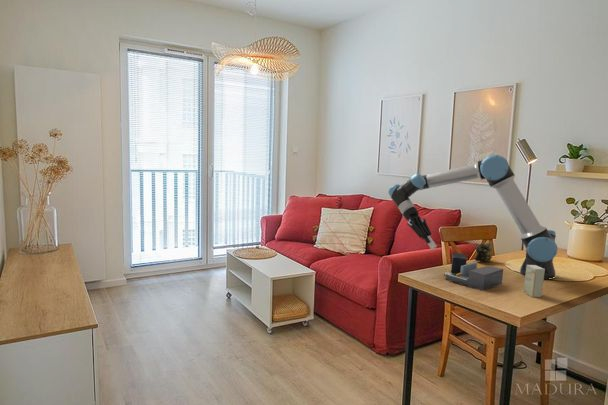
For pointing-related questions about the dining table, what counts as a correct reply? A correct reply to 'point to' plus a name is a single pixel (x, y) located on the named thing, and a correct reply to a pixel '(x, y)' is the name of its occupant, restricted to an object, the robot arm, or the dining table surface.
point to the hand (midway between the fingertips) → (434, 247)
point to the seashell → (484, 252)
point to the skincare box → (533, 280)
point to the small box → (457, 262)
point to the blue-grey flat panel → (467, 269)
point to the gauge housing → (479, 278)
